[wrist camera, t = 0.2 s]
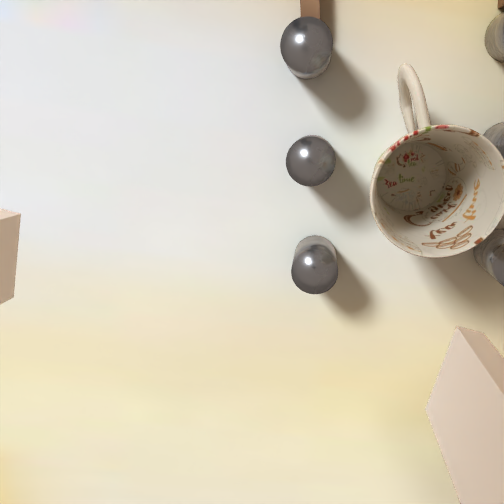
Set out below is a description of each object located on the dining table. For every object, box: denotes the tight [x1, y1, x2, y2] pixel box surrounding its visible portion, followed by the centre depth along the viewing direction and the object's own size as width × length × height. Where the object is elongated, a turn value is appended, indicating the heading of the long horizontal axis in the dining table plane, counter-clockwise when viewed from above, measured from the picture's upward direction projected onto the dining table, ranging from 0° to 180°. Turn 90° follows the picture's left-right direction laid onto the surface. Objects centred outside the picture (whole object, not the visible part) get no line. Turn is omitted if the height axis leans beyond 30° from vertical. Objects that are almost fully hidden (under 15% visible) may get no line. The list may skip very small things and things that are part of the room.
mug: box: [370, 63, 504, 258], centre depth 34 cm, size 8×13×10 cm, turn 17°
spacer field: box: [280, 12, 504, 294], centre depth 36 cm, size 20×19×5 cm
